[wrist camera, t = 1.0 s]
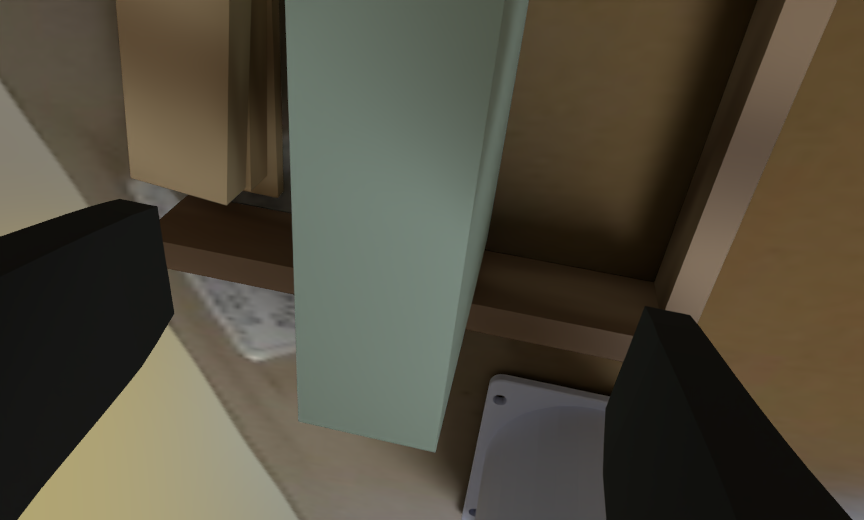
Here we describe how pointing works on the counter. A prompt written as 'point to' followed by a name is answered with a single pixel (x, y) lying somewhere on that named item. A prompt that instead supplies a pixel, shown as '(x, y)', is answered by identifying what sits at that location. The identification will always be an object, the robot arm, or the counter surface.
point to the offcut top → (187, 93)
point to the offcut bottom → (273, 108)
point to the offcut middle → (257, 97)
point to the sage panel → (392, 199)
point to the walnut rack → (558, 284)
